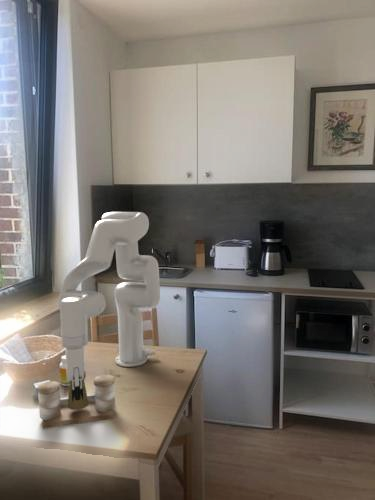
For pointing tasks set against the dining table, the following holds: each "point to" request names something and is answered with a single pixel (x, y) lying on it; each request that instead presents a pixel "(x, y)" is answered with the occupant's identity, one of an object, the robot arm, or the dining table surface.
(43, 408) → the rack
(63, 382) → the supplement bottle
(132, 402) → the dining table surface
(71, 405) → the cork
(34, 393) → the grey rectangular block
